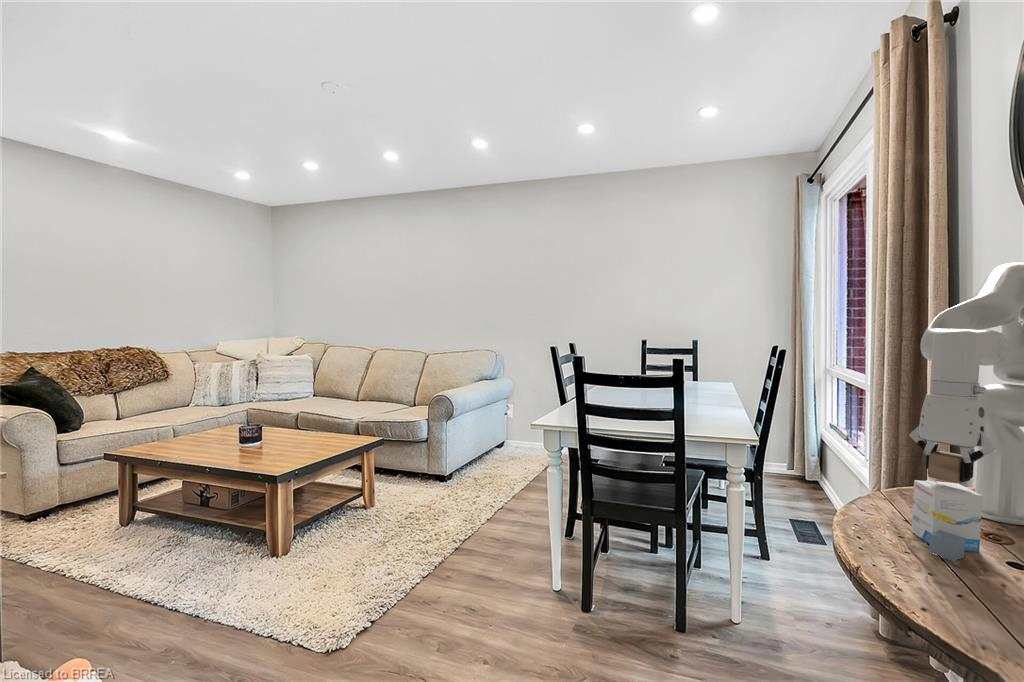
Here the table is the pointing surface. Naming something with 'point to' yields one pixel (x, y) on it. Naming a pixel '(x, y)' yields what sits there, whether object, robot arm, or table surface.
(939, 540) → the slate block
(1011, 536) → the table surface
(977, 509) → the ink box
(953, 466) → the walnut block
